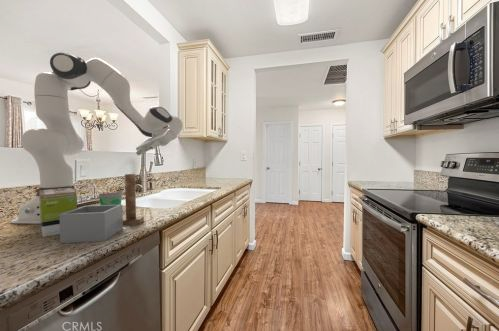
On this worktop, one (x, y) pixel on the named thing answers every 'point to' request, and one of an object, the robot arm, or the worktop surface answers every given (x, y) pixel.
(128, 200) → the brown wooden post
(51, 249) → the worktop surface
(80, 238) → the gray open-top rectangular bin
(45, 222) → the tea box
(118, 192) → the food container
